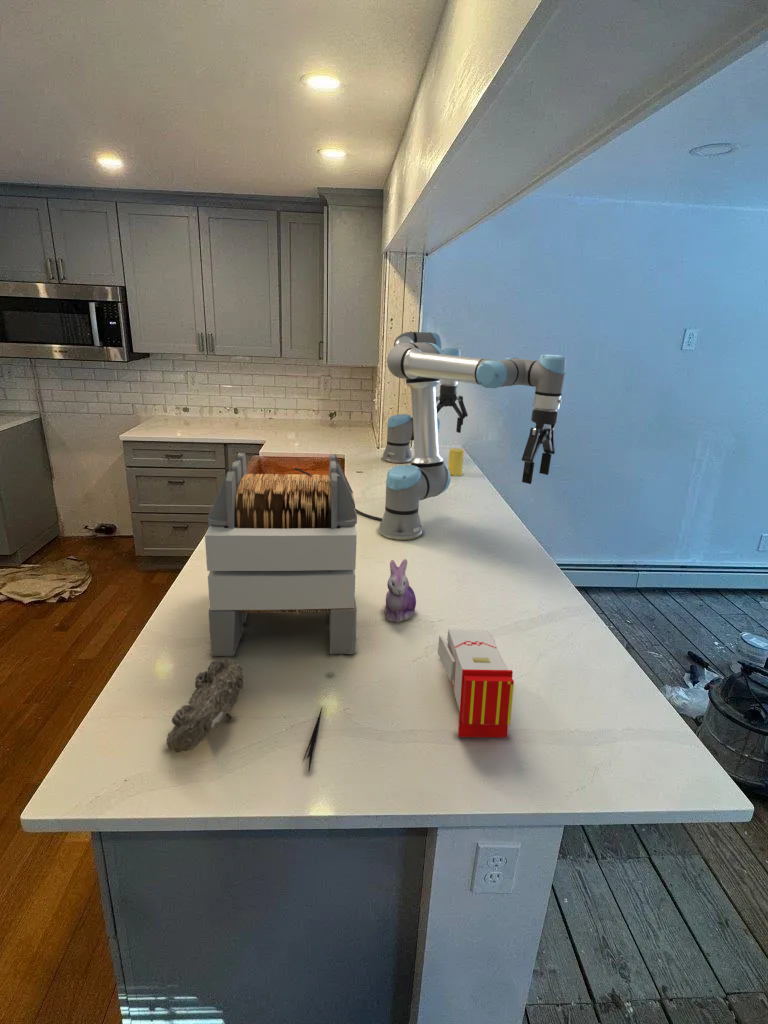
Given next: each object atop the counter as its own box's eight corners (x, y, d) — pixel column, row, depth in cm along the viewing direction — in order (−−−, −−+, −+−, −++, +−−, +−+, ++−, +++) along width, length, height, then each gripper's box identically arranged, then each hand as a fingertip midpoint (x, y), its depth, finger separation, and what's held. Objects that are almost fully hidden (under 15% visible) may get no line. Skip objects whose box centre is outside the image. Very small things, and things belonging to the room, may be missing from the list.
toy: (488, 613, 130) (523, 677, 101) (484, 667, 133) (517, 744, 104) (435, 612, 130) (455, 676, 101) (432, 666, 133) (451, 743, 103)
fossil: (192, 660, 117) (244, 628, 112) (224, 691, 120) (276, 661, 115) (142, 746, 98) (202, 712, 93) (182, 779, 101) (242, 748, 96)
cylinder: (448, 475, 273) (451, 451, 269) (446, 471, 280) (448, 447, 276) (463, 476, 274) (465, 451, 270) (460, 472, 280) (462, 448, 276)
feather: (331, 679, 122) (336, 673, 122) (307, 777, 96) (313, 769, 95) (324, 675, 122) (329, 669, 121) (298, 772, 95) (304, 764, 95)
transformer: (231, 587, 157) (223, 443, 143) (348, 585, 161) (352, 445, 147) (208, 658, 125) (196, 482, 112) (356, 654, 129) (361, 484, 115)
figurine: (392, 627, 141) (395, 572, 136) (374, 608, 149) (376, 556, 144) (425, 619, 145) (429, 566, 140) (405, 601, 154) (408, 550, 149)
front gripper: (541, 416, 155) (530, 489, 163) (572, 406, 175) (561, 472, 182) (516, 412, 160) (506, 484, 167) (549, 403, 179) (539, 467, 186)
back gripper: (426, 386, 239) (423, 435, 246) (478, 385, 248) (473, 433, 255) (419, 383, 245) (416, 432, 253) (469, 383, 254) (465, 430, 262)
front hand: (535, 478), depth 174 cm, fingers open, 13 cm apart
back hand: (445, 432), depth 254 cm, fingers open, 13 cm apart
